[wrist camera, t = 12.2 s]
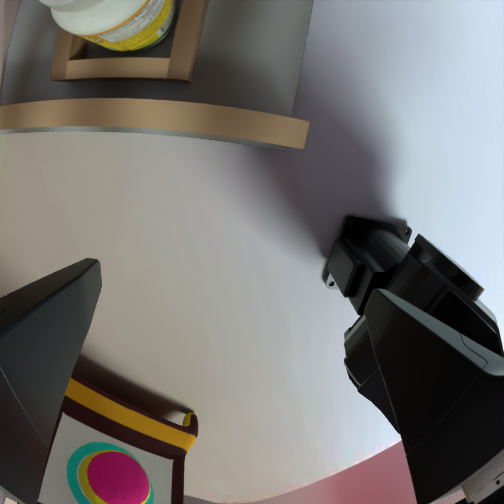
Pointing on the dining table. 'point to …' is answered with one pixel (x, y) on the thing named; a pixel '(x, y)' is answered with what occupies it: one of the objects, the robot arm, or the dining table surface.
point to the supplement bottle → (116, 21)
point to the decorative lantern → (113, 452)
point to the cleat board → (164, 76)
